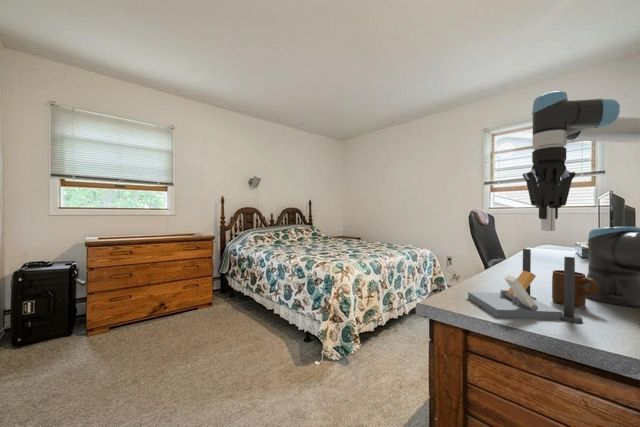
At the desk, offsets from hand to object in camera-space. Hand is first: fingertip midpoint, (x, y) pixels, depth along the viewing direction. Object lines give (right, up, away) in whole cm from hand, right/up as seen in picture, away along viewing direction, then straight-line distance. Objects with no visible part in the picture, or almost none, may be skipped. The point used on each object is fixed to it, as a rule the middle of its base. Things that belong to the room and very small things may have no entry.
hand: (548, 230), depth 78 cm
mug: (+10, -23, +3) cm, 25 cm away
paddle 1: (-10, -19, +1) cm, 22 cm away
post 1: (0, -22, +8) cm, 24 cm away
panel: (-11, -22, 0) cm, 25 cm away
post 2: (-1, -22, -8) cm, 24 cm away
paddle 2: (-10, -19, -6) cm, 23 cm away
